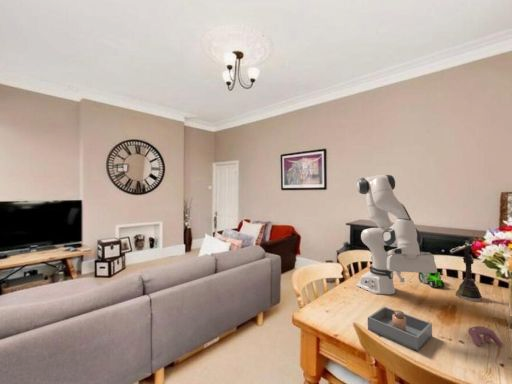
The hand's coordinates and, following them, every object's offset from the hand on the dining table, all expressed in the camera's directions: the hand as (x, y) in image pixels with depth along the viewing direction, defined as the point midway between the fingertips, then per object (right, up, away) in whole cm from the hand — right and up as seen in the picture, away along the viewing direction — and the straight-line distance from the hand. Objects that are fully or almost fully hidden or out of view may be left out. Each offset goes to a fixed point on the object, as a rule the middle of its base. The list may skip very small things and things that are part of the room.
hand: (413, 282), depth 112 cm
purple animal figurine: (+22, -21, -11) cm, 32 cm away
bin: (-9, -21, -4) cm, 23 cm away
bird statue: (+49, -20, +31) cm, 61 cm away
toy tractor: (+44, -20, +50) cm, 70 cm away
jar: (-9, -20, -4) cm, 22 cm away
